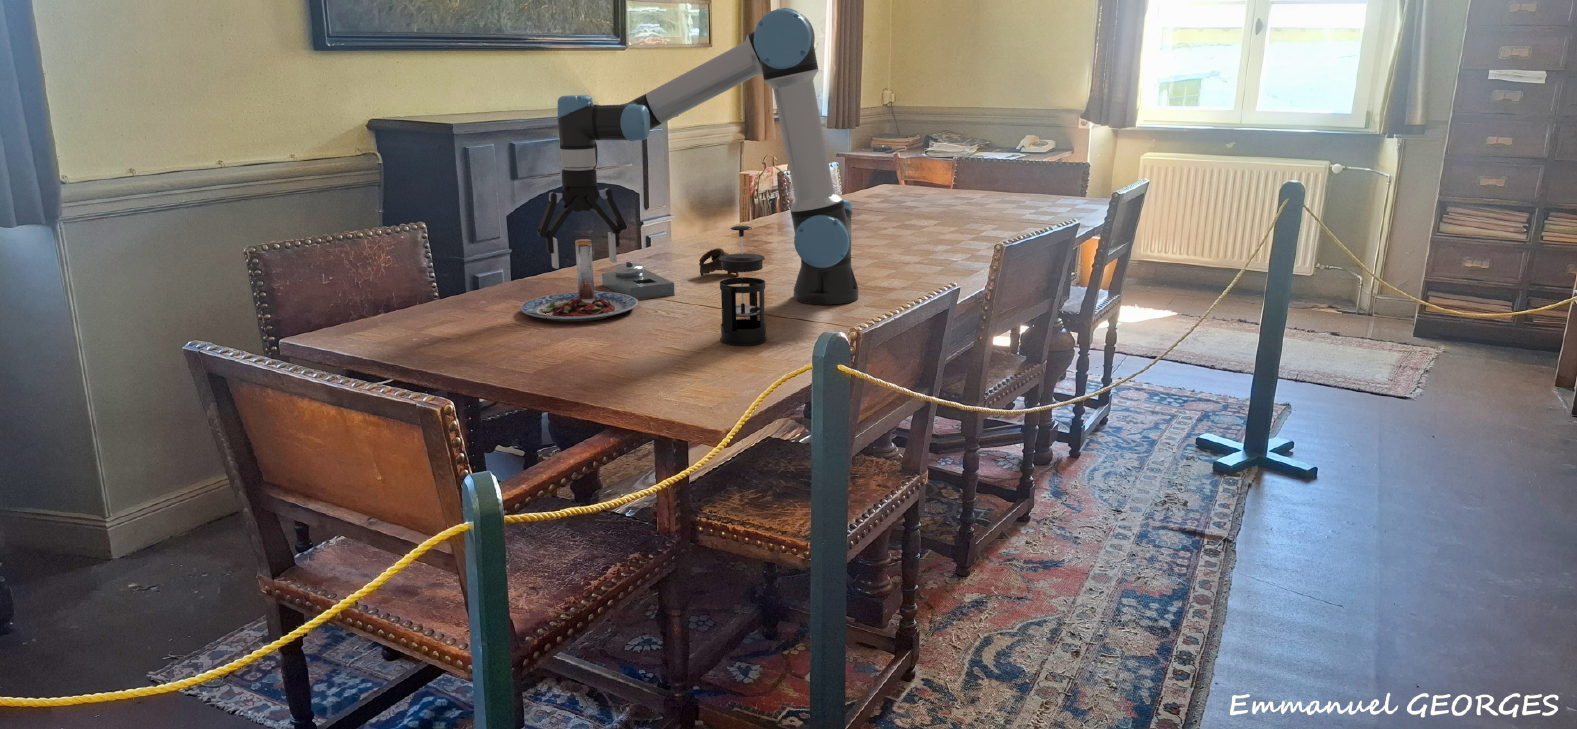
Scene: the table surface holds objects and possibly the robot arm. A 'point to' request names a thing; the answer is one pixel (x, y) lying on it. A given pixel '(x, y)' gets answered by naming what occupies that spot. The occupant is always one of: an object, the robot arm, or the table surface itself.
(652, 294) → the block
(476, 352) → the table surface
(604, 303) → the ceramic plate
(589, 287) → the pin
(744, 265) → the french press
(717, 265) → the broken brown mug
